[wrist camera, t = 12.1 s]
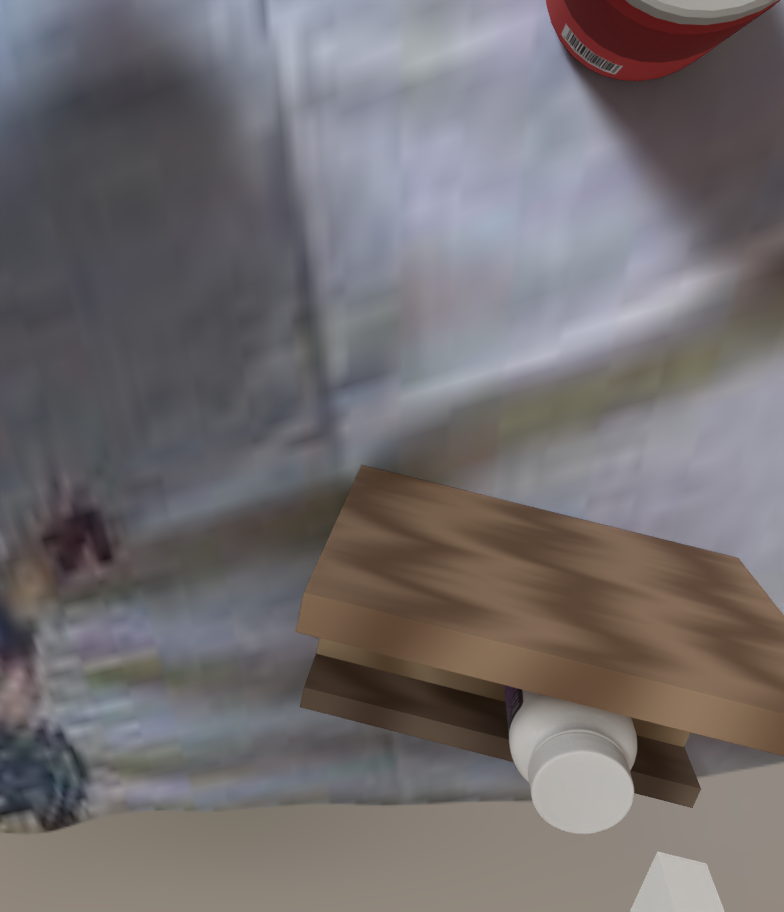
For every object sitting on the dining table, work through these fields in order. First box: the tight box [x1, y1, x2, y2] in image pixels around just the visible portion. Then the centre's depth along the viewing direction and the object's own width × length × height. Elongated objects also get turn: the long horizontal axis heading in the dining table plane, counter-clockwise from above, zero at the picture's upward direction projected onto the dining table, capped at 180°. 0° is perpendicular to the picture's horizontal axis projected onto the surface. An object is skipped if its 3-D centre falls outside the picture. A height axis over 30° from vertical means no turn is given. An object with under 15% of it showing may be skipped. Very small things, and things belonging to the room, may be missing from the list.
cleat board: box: [296, 465, 784, 808], centre depth 33 cm, size 20×11×14 cm, turn 77°
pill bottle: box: [504, 685, 637, 834], centre depth 33 cm, size 5×5×10 cm
